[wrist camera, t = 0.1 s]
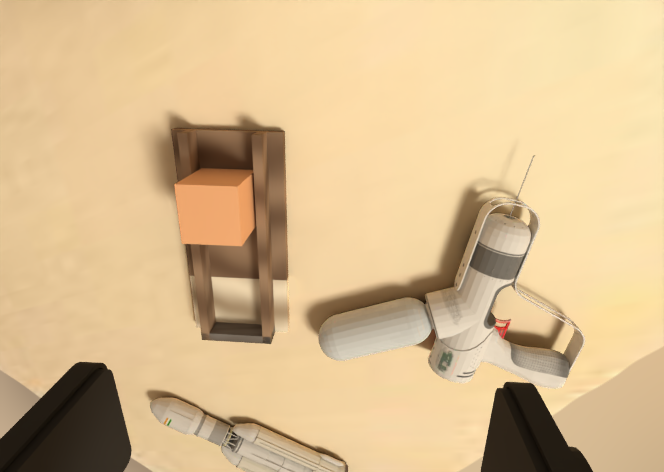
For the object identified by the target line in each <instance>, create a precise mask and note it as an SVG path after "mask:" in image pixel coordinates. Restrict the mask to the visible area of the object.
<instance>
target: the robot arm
mask: <svg viewBox="0 0 664 472" xmlns="http://www.w3.org/2000/svg"><path fill="white" fill-rule="evenodd" d="M130 457H131V445H130V441H129V437H128V433H127V429H126V425H125V421H124V417H123V413H122V409H121V405H120V401H119V397H118V393H117V389H116V385H115V380H114V376H113V373H112V371H111V370H108V369H107V367H106V365H105V364H104V363H91V362H79V363H76V364H75V365H74V366H72V367H71V368H70V369H69V370H68V371H67V372H66V373H65V374H64V375H63V377H62V378H61V379H60V380H59V381H58V382H57V383H56V384H55V385H54V386H53V387H52V388H51V389H50V390H49V391H48V392H47V393H46V394H45V395H44V396H43V397H42V398H41V399H40V400H39V401H38V402H37V403H36V404H35V405H34V406H33V407H32V408H31V409H30V410H29V411H28V412H27V413H26V414H25V415H24V416H23V417H22V418H21V419H20V420H19V421H18V422H17V423H16V424H15V425H14V426H13V427H12V428H11V429H10V430H9V431H8V432H7V433H6V434H5V435H4V436H3V437H2V438H1V439H0V472H123V471H124V470H125V468H126V466H127V464H128V463H129V460H130ZM481 472H593V471H592V469H591V467H590V465H589V464H588V462H587V460H586V459H585V457H584V456H583V454H582V453H581V452H580V451H579V450H578V449H577V448H574V447H568V445H567V443H566V441H565V439H564V438H563V436H562V434H561V432H560V430H559V429H558V427H557V425H556V423H555V421H554V420H553V418H552V416H551V414H550V412H549V410H548V409H547V407H546V405H545V403H544V401H543V400H542V398H541V396H540V394H539V392H538V391H537V389H536V387H535V386H534V385H533V384H532V383H518V382H506V383H505V384H504V387H503V388H497V390H496V393H495V398H494V403H493V408H492V414H491V419H490V424H489V430H488V435H487V440H486V445H485V451H484V456H483V461H482V467H481Z"/></svg>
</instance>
